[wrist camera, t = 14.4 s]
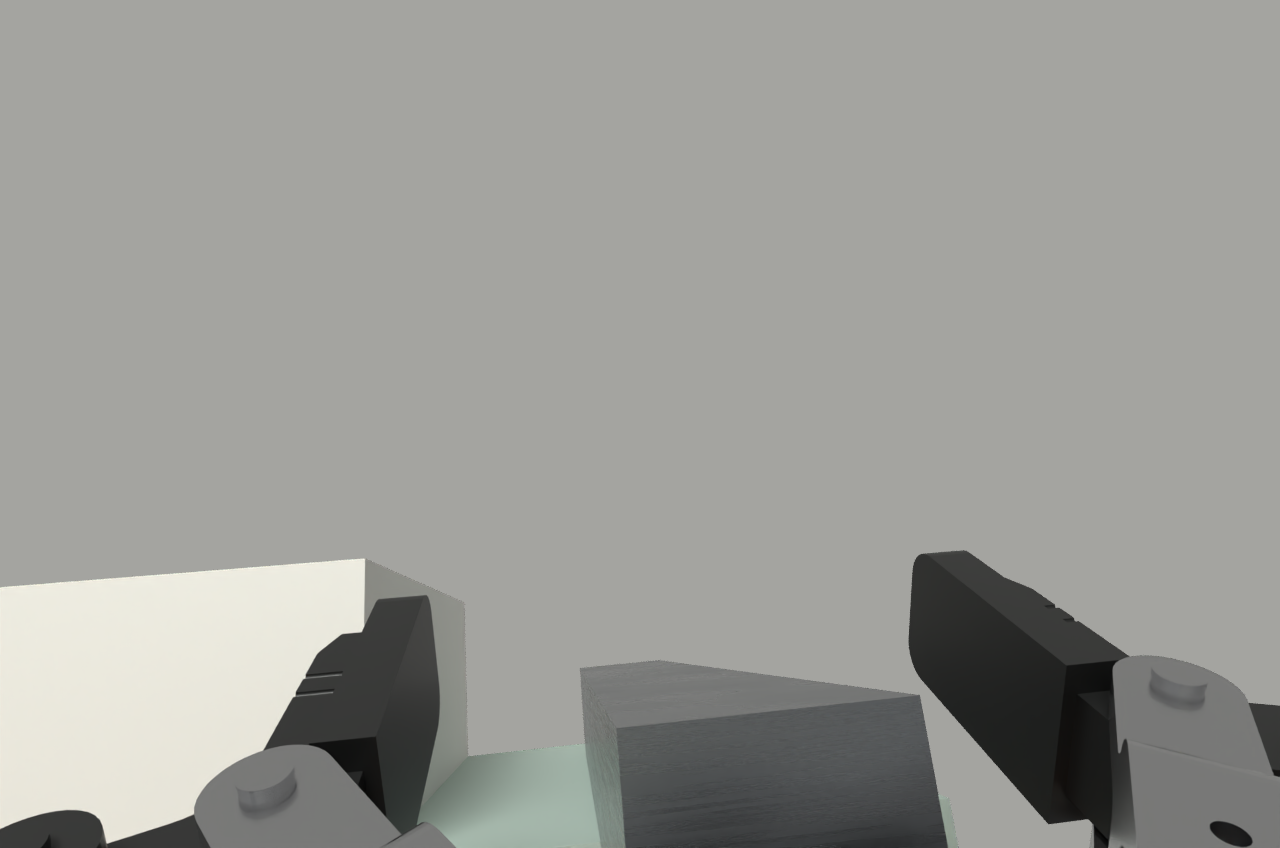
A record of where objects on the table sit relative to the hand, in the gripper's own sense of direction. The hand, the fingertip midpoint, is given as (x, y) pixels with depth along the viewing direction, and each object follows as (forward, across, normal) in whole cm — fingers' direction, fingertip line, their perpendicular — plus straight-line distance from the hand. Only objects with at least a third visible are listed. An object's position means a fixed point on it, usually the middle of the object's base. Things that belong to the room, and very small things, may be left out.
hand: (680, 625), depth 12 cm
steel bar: (+3, 0, +6) cm, 7 cm away
